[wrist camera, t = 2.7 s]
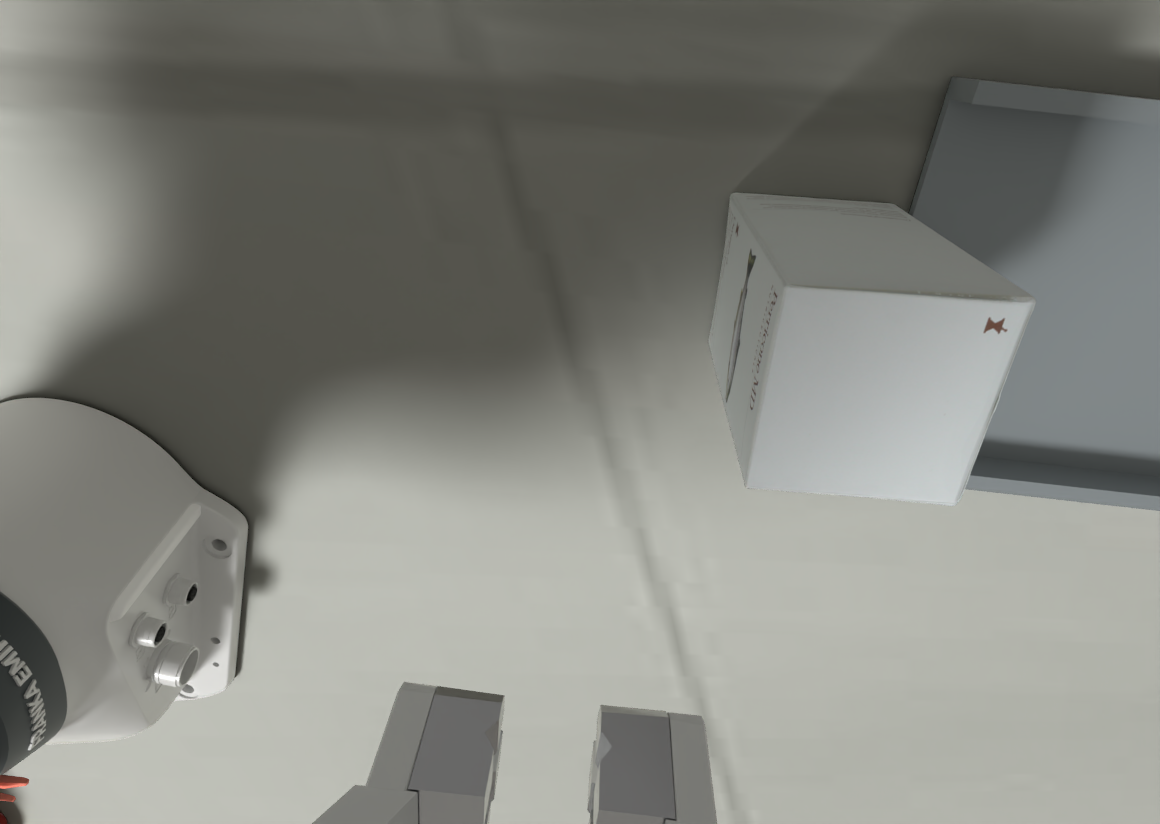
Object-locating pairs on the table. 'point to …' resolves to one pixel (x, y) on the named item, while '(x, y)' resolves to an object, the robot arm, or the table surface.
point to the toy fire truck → (2, 819)
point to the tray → (1061, 279)
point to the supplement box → (858, 349)
